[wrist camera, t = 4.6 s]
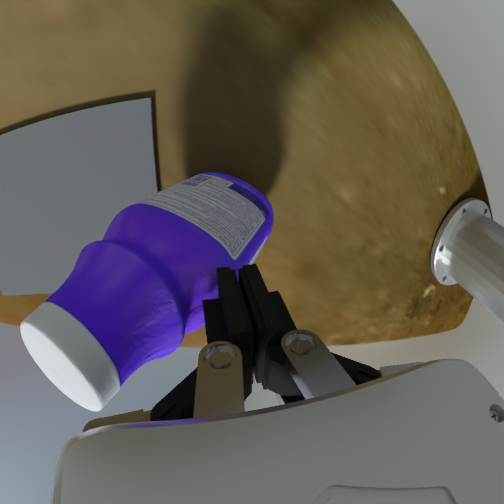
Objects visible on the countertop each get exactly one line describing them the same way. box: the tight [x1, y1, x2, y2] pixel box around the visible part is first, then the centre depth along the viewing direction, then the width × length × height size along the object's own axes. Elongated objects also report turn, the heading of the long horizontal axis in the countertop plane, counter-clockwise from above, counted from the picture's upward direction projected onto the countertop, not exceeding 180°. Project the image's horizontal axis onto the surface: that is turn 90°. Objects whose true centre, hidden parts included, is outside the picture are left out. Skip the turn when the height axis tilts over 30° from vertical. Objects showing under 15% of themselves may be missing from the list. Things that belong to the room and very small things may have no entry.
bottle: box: [20, 172, 273, 411], centre depth 15 cm, size 7×6×17 cm
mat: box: [0, 98, 158, 296], centre depth 20 cm, size 20×16×1 cm
